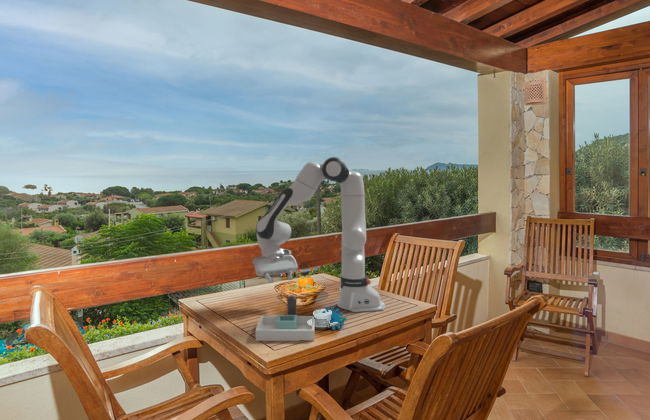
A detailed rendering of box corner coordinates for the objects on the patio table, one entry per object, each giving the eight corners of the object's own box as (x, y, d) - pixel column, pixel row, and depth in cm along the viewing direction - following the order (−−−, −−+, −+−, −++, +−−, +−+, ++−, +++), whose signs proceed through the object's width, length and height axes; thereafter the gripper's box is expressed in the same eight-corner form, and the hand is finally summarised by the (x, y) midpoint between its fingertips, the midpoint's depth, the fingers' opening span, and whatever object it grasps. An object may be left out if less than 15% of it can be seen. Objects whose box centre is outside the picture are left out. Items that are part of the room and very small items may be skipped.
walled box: (314, 325, 170) (314, 313, 170) (314, 340, 154) (314, 327, 154) (261, 325, 170) (261, 313, 169) (255, 340, 154) (255, 327, 153)
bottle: (296, 316, 181) (296, 294, 180) (296, 319, 177) (296, 296, 176) (287, 316, 181) (287, 294, 180) (286, 319, 177) (286, 296, 176)
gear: (321, 327, 163) (321, 304, 170) (318, 334, 168) (318, 311, 174) (348, 329, 165) (347, 307, 172) (344, 336, 170) (343, 313, 176)
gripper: (253, 254, 187) (261, 279, 180) (293, 250, 198) (303, 274, 190) (249, 261, 191) (257, 287, 184) (289, 257, 202) (298, 281, 194)
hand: (281, 280), depth 187 cm, fingers open, 8 cm apart
